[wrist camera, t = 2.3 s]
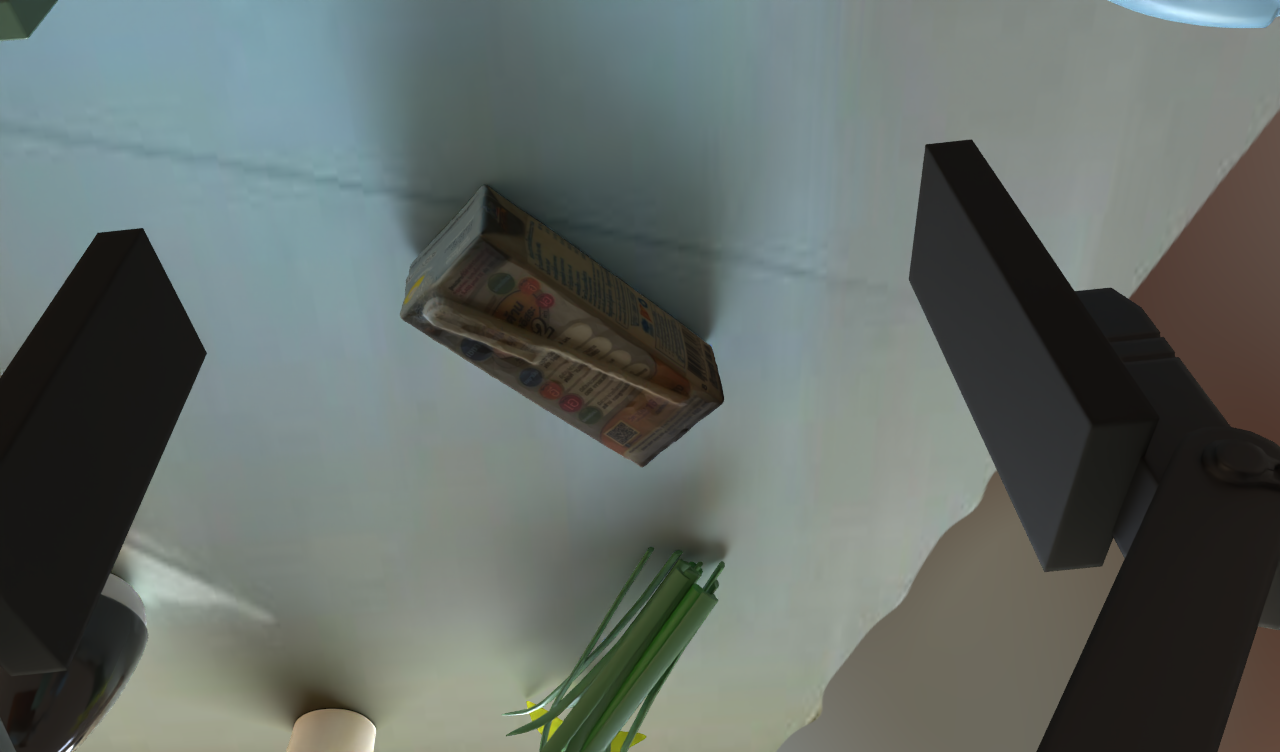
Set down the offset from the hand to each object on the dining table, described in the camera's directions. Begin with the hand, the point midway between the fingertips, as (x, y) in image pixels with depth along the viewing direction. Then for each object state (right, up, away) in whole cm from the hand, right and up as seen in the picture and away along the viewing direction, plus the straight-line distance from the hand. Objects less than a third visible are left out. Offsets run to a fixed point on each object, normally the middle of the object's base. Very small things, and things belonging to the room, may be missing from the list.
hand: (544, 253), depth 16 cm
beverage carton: (-3, +3, +44) cm, 44 cm away
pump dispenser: (-42, -19, +59) cm, 75 cm away
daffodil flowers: (-3, -26, +69) cm, 73 cm away
